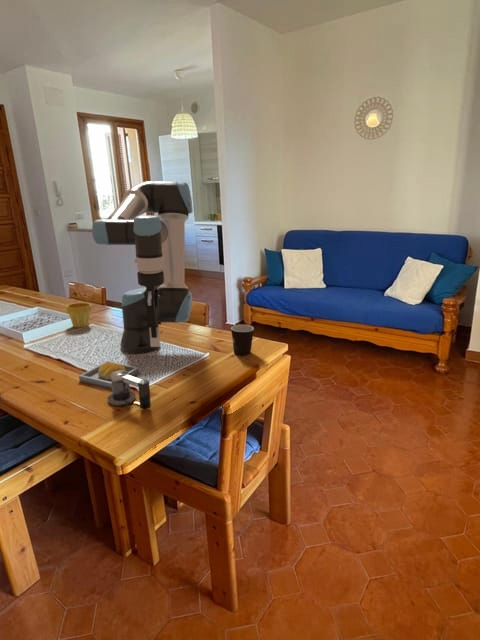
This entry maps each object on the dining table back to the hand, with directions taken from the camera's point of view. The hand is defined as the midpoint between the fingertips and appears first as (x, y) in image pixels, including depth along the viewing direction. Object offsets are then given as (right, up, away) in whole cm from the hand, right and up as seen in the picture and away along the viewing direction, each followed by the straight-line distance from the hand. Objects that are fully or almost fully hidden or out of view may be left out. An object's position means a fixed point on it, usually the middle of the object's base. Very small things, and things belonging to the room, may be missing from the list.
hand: (155, 345), depth 128 cm
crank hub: (-7, -16, -5) cm, 18 cm away
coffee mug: (+27, -5, +33) cm, 43 cm away
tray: (-17, -11, +11) cm, 23 cm away
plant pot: (-47, +5, +63) cm, 79 cm away
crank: (-5, -16, -7) cm, 18 cm away
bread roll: (-17, -11, +11) cm, 22 cm away
